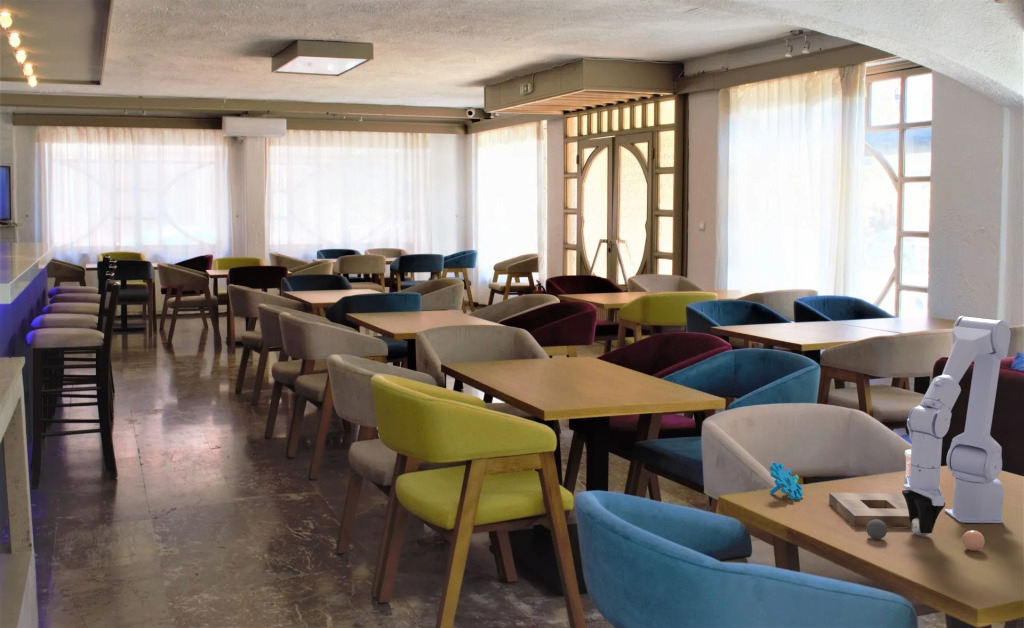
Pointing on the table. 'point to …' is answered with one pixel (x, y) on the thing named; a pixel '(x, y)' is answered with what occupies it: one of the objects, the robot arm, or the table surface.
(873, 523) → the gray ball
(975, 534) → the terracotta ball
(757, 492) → the table surface
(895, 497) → the wooden square frame
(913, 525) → the steel ball
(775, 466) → the blue branched piece
